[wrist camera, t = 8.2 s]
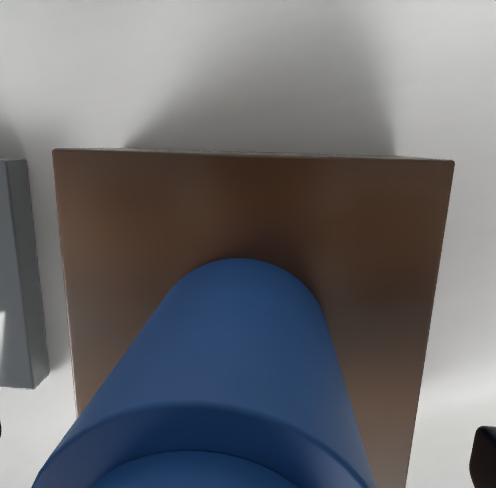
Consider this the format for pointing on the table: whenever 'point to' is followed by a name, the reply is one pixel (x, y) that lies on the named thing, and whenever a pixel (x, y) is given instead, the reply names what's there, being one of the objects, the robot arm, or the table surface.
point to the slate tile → (19, 284)
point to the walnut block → (262, 258)
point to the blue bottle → (221, 395)
